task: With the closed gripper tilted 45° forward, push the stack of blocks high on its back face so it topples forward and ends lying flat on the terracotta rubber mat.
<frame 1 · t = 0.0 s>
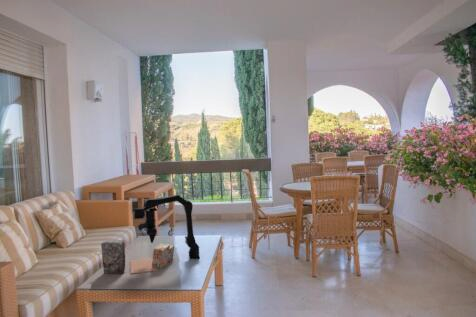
hand: (151, 241, 250), 15 cm above the table, tool pointing down, fingers open, 9 cm apart
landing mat: (143, 265, 245), on the table
stack of blocks: (162, 262, 249), on the table, touching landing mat
stone block: (114, 272, 234), on the table
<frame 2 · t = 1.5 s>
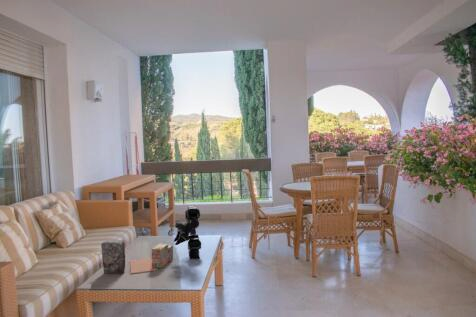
hand: (174, 243, 251), 13 cm above the table, tool tilted 45°, fingers open, 8 cm apart
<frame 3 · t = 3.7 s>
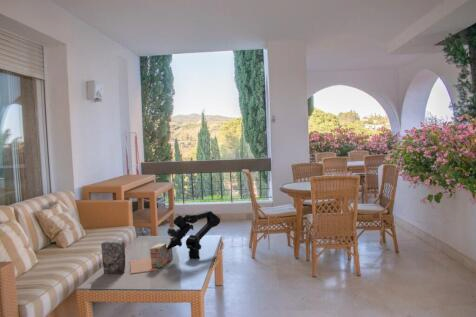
hand: (167, 249, 249), 9 cm above the table, tool tilted 45°, fingers closed
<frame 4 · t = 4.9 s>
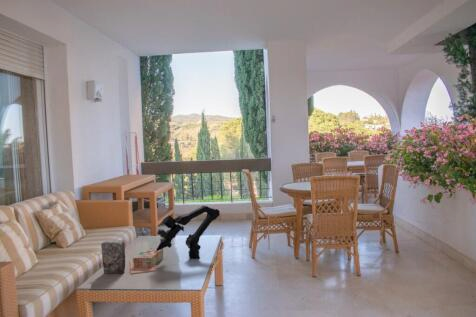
hand: (156, 250, 247), 9 cm above the table, tool tilted 45°, fingers closed
stack of blocks: (157, 257, 249), point 4 cm above the table, touching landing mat
everything else where it was.
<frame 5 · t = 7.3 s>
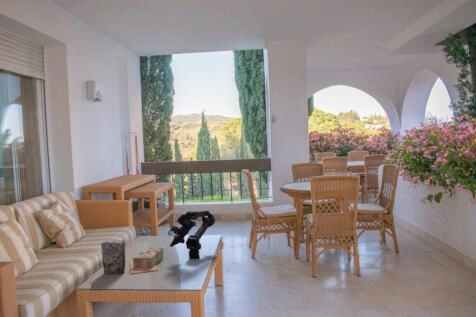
hand: (170, 246, 250), 11 cm above the table, tool tilted 45°, fingers closed
nothing on the table moved.
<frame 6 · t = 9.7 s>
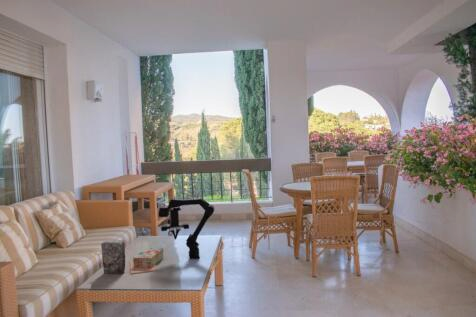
hand: (175, 239, 259), 13 cm above the table, tool pointing down, fingers closed
nothing on the table moved.
at the end: stack of blocks tilted 90°; stack of blocks touching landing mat; the gripper is holding nothing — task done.
